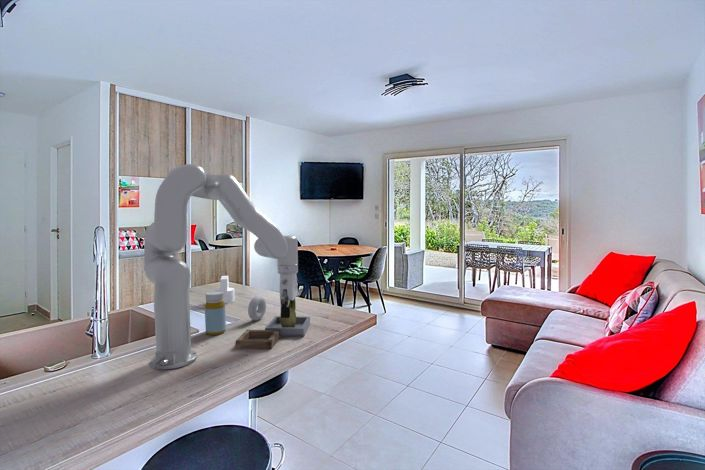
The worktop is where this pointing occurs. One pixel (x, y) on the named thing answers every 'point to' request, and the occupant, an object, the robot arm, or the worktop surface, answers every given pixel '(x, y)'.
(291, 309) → the fennel bulb
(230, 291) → the cylinder with rectangular tab
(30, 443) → the worktop surface
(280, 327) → the tray
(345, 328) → the worktop surface
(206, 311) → the bottle
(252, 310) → the donut
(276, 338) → the holder
